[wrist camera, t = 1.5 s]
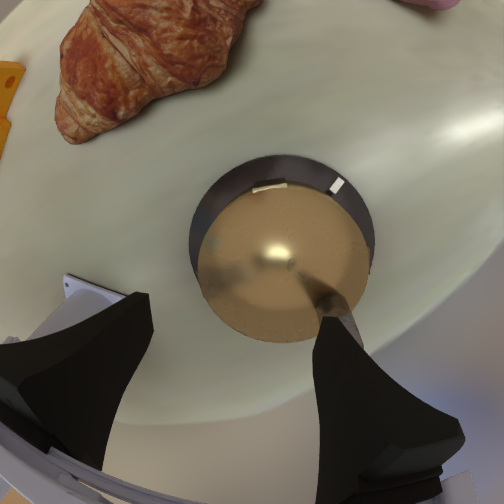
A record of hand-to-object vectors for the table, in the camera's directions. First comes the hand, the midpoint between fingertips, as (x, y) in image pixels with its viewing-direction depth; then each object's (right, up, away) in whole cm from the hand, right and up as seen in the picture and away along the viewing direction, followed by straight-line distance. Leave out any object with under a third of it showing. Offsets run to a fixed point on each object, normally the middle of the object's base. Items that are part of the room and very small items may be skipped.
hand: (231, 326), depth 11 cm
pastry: (-6, +19, +4) cm, 20 cm away
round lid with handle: (+3, +3, +8) cm, 8 cm away
